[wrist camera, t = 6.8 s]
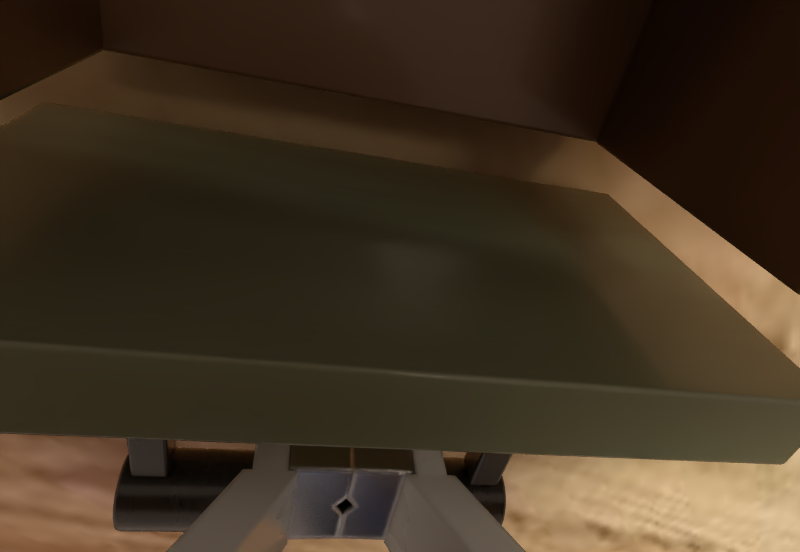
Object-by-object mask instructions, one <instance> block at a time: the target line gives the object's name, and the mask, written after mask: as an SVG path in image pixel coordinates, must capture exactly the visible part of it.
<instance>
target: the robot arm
mask: <svg viewBox="0 0 800 552" xmlns="http://www.w3.org/2000/svg"><path fill="white" fill-rule="evenodd" d="M320 538H349V539H381V540H385V541H384V543H385V544H386V546H387V547H388V549H389V551H390V552H525V550H524V549H523V548H522V547H521V546H520V545H519V544H518V543H517V542H516V541H515V540H514V539H513V538H512V536H511V535H510V534H509V533H508V532H507V531H506V530H505V529H504V528H503V527H502V526H501V525H500V523H499V522H498V521H497V520H496V519H495V518H494V517H493V516H492V515H491V514H490V513H489V512H488V511H487V509H486V508H485V507H484V506H483V505H482V504H481V503H480V502H479V501H478V500H477V499H476V498H475V497H474V495H473V494H472V493H471V492H470V491H469V490H468V489H467V488H466V487H465V486H464V485H463V484H462V483H461V481H460V480H459V479H458V478H457V477H456V476H452V475H447V472H446V468H445V464H444V459H443V455H442V451H430V450H405V449H380V448H355V447H330V446H305V445H280V444H256V448H255V454H254V461H253V468H252V469H243V470H242V471H241V472H240V473H239V474H238V475H237V476H236V477H235V478H234V479H233V481H232V482H231V483H230V484H229V485H228V486H227V487H226V488H225V489H224V490H223V491H222V492H221V493H220V495H219V496H218V497H217V498H216V499H215V500H214V501H213V502H212V503H211V504H210V505H209V506H208V507H207V508H206V510H205V511H204V512H203V513H202V514H201V515H200V516H199V517H198V518H197V519H196V520H195V521H194V522H193V523H192V525H191V526H190V527H189V528H188V529H187V530H186V531H185V532H184V533H183V534H182V535H181V536H180V537H179V539H178V540H177V541H176V542H175V543H174V544H173V545H172V546H171V547H170V548H169V549H168V550H167V551H166V552H282V550H283V549H284V547H285V545H286V544H287V541H288V539H320Z"/></svg>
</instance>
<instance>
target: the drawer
mask: <svg viewBox="0 0 800 552" xmlns="http://www.w3.org/2000/svg"><path fill="white" fill-rule="evenodd" d="M102 50H106V51H112V52H117V53H123V54H128V55H133V56H139V57H144V58H149V59H155V60H160V61H165V62H171V63H176V64H181V65H187V66H192V67H198V68H203V69H208V70H214V71H219V72H224V73H230V74H235V75H240V76H246V77H251V78H256V79H262V80H267V81H273V82H278V83H283V84H289V85H294V86H299V87H305V88H310V89H315V90H321V91H326V92H331V93H337V94H342V95H348V96H353V97H358V98H364V99H369V100H374V101H380V102H385V103H390V104H396V105H401V106H406V107H412V108H417V109H423V110H428V111H433V112H439V113H444V114H449V115H455V116H460V117H465V118H471V119H476V120H481V121H487V122H492V123H498V124H503V125H508V126H514V127H519V128H524V129H530V130H535V131H540V132H546V133H551V134H556V135H562V136H567V137H573V138H578V139H583V140H589V141H594V142H597V143H598V144H599V145H600V146H602V147H603V148H604V149H606V150H607V151H608V152H610V153H611V154H612V155H614V156H615V157H616V158H618V159H619V160H620V161H622V162H623V163H624V164H626V165H627V166H628V167H630V168H631V169H632V170H634V171H635V172H636V173H638V174H639V175H640V176H642V177H643V178H644V179H646V180H647V181H648V182H650V183H651V184H652V185H654V186H655V187H656V188H657V189H659V190H660V191H661V192H663V193H664V194H665V195H667V196H668V197H669V198H671V199H672V200H673V201H675V202H676V203H677V204H679V205H680V206H681V207H683V208H684V209H685V210H687V211H688V212H689V213H691V214H692V215H693V216H695V217H696V218H697V219H699V220H700V221H701V222H703V223H704V224H705V225H707V226H708V227H709V228H711V229H712V230H713V231H715V232H716V233H717V234H719V235H720V236H721V237H723V238H724V239H725V240H727V241H728V242H729V243H731V244H732V245H733V246H735V247H736V248H737V249H739V250H740V251H741V252H743V253H744V254H745V255H747V256H748V257H749V258H751V259H752V260H753V261H755V262H756V263H757V264H759V265H760V266H761V267H763V268H764V269H765V270H767V271H768V272H769V273H771V274H772V275H773V276H775V277H776V278H777V279H778V280H780V281H781V282H782V283H784V284H785V285H786V286H788V287H789V288H790V289H792V290H793V291H794V292H796V293H797V294H800V0H0V100H1V99H3V98H6V97H8V96H10V95H12V94H14V93H16V92H18V91H20V90H22V89H24V88H26V87H28V86H30V85H32V84H34V83H37V82H39V81H41V80H43V79H45V78H47V77H49V76H51V75H53V74H55V73H57V72H59V71H61V70H63V69H65V68H68V67H70V66H72V65H74V64H76V63H78V62H80V61H82V60H84V59H86V58H88V57H90V56H92V55H94V54H96V53H99V52H101V51H102ZM0 433H6V434H31V435H56V436H81V437H106V438H127V444H128V453H129V454H128V455H127V457H126V459H125V461H124V464H123V466H122V469H121V472H120V475H119V479H118V483H117V487H116V492H115V497H114V505H113V522H114V527H115V529H116V530H118V531H160V532H185V531H186V530H187V529H188V528H189V527H190V526H191V525H192V523H193V522H194V521H195V520H196V519H197V518H198V517H199V516H200V515H201V514H202V513H203V512H204V511H205V510H206V508H207V507H208V506H209V505H210V504H211V503H212V502H213V501H214V500H215V499H216V498H217V497H218V496H219V495H220V493H221V492H222V491H223V490H224V489H225V488H226V487H227V486H228V485H229V484H230V483H231V482H232V481H233V479H234V478H235V477H236V476H237V475H238V474H239V473H240V472H241V471H242V470H243V469H252V468H253V461H254V454H255V450H232V449H205V448H178V447H176V440H181V441H205V442H230V443H255V444H280V445H305V446H330V447H355V448H380V449H405V450H430V451H455V452H467V453H466V455H465V458H446V457H443V459H444V464H445V468H446V472H447V475H452V476H456V477H457V478H458V479H459V480H460V481H461V483H462V484H463V485H464V486H465V487H466V488H467V489H468V490H469V491H470V492H471V493H472V494H473V495H474V497H475V498H476V499H477V500H478V501H479V502H480V503H481V504H482V505H483V506H484V507H485V508H486V509H487V511H488V512H489V513H490V514H491V515H492V516H493V517H494V518H495V519H496V520H497V521H498V522H499V523H500V525H502V523H503V520H504V515H505V507H506V495H505V486H504V481H503V477H502V474H503V472H504V470H505V468H506V466H507V464H508V462H509V460H510V458H511V456H512V454H530V455H555V456H580V457H605V458H630V459H654V460H679V461H704V462H729V463H754V464H779V465H781V464H784V463H786V462H787V460H788V459H789V458H790V457H791V456H792V455H793V454H794V453H795V452H796V451H797V450H798V449H799V448H800V368H799V367H798V366H797V365H796V364H794V363H793V362H792V361H791V360H790V359H789V358H788V357H787V356H786V355H785V354H783V353H782V352H781V351H780V350H779V349H778V348H777V347H776V346H775V345H774V344H772V343H771V342H770V341H769V340H768V339H767V338H766V337H765V336H764V335H762V334H761V333H760V332H759V331H758V330H757V329H756V328H755V327H754V326H753V325H751V324H750V323H749V322H748V321H747V320H746V319H745V318H744V317H743V316H742V315H740V314H739V313H738V312H737V311H736V310H735V309H734V308H733V307H732V306H730V305H729V304H728V303H727V302H726V301H725V300H724V299H723V298H722V297H721V296H719V295H718V294H717V293H716V292H715V291H714V290H713V289H712V288H711V287H710V286H708V285H707V284H706V283H705V282H704V281H703V280H702V279H701V278H700V277H699V276H697V275H696V274H695V273H694V272H693V271H692V270H691V269H690V268H689V267H687V266H686V265H685V264H684V263H683V262H682V261H681V260H680V259H679V258H678V257H676V256H675V255H674V254H673V253H672V252H671V251H670V250H669V249H668V248H667V247H665V246H664V245H663V244H662V243H661V242H660V241H659V240H658V239H657V238H655V237H654V236H653V235H652V234H651V233H650V232H649V231H648V230H647V229H646V228H644V227H643V226H642V225H641V224H640V223H639V222H638V221H637V220H636V219H635V218H633V217H632V216H631V215H630V214H629V213H628V212H627V211H626V210H625V209H624V208H622V207H621V206H620V205H619V204H618V203H617V202H616V201H615V200H614V199H612V198H611V197H610V196H609V195H608V194H604V193H597V192H591V191H585V190H579V189H573V188H567V187H561V186H555V185H548V184H542V183H536V182H530V181H524V180H518V179H512V178H506V177H499V176H493V175H487V174H481V173H475V172H469V171H463V170H457V169H450V168H444V167H438V166H432V165H426V164H420V163H414V162H408V161H401V160H395V159H389V158H383V157H377V156H371V155H365V154H359V153H352V152H346V151H340V150H334V149H328V148H322V147H316V146H310V145H303V144H297V143H291V142H285V141H279V140H273V139H267V138H261V137H254V136H248V135H242V134H236V133H230V132H224V131H218V130H212V129H205V128H199V127H193V126H187V125H181V124H175V123H169V122H163V121H156V120H150V119H144V118H138V117H132V116H126V115H120V114H114V113H107V112H101V111H95V110H89V109H83V108H77V107H71V106H65V105H58V104H52V103H46V102H45V103H42V104H40V105H39V106H37V107H35V108H33V109H32V110H30V111H28V112H26V113H24V114H23V115H21V116H19V117H17V118H16V119H14V120H12V121H10V122H9V123H7V124H5V125H3V126H2V127H0Z"/></svg>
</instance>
